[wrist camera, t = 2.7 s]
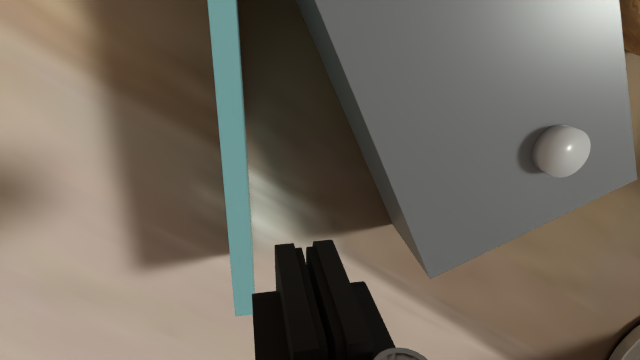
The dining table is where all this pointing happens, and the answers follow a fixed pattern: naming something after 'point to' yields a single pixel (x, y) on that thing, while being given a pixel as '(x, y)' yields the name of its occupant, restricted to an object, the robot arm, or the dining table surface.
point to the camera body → (480, 112)
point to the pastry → (630, 25)
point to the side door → (233, 147)
